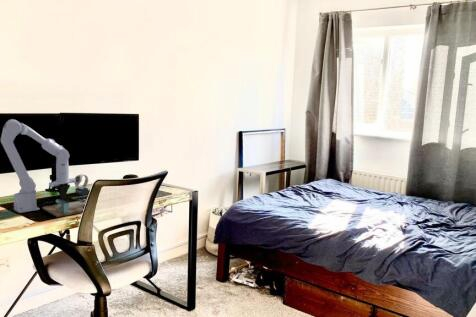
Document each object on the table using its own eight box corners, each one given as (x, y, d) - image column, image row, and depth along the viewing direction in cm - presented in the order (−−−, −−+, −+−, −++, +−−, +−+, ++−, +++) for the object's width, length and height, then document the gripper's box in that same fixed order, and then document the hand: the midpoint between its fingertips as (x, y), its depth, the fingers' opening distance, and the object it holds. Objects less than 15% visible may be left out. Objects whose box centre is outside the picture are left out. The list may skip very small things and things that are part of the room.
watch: (72, 194, 235) (72, 175, 233) (84, 191, 242) (84, 173, 240) (79, 195, 232) (78, 176, 230) (90, 193, 239) (90, 174, 237)
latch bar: (85, 203, 213) (85, 198, 212) (89, 205, 210) (89, 199, 210) (55, 209, 200) (55, 203, 200) (59, 211, 198) (59, 205, 197)
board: (57, 216, 193) (57, 214, 193) (42, 208, 205) (42, 206, 205) (99, 209, 208) (99, 207, 208) (83, 201, 220) (83, 200, 220)
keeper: (64, 213, 196) (63, 203, 195) (56, 209, 202) (55, 199, 201) (69, 212, 198) (68, 202, 197) (60, 208, 204) (60, 199, 203)
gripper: (68, 169, 217) (69, 194, 219) (44, 173, 204) (45, 200, 206) (78, 171, 214) (78, 196, 216) (54, 175, 201) (54, 202, 203)
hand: (62, 198), depth 211 cm, fingers closed
